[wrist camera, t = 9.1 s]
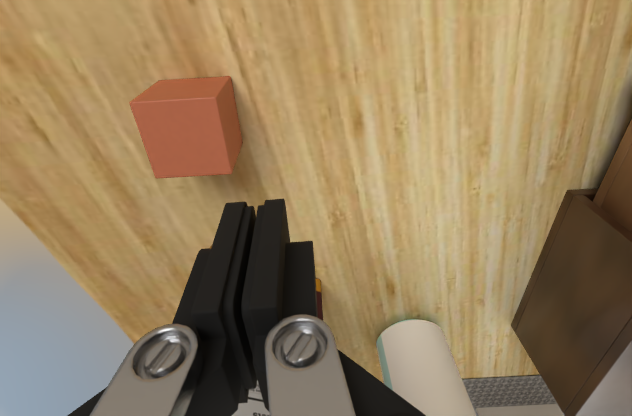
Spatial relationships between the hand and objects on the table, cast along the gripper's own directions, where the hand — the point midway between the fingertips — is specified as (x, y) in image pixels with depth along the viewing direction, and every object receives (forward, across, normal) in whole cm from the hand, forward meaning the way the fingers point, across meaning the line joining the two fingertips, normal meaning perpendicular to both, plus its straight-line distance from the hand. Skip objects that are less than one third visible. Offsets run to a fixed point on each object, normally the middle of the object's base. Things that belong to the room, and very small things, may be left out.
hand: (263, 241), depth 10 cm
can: (+15, -10, +26) cm, 31 cm away
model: (+15, -26, +44) cm, 53 cm away
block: (+14, +5, 0) cm, 15 cm away
